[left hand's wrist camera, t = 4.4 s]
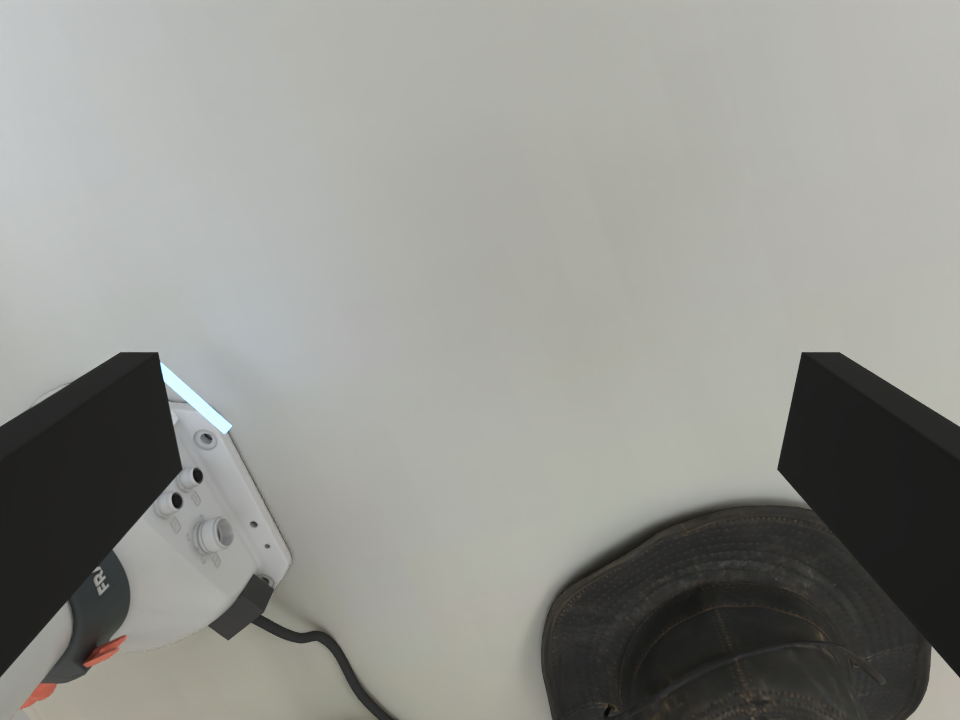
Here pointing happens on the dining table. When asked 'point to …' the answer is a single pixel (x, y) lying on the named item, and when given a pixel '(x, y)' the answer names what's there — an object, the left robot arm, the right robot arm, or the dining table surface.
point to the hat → (733, 629)
